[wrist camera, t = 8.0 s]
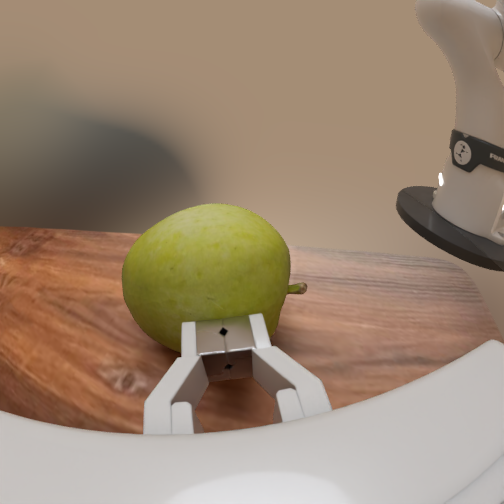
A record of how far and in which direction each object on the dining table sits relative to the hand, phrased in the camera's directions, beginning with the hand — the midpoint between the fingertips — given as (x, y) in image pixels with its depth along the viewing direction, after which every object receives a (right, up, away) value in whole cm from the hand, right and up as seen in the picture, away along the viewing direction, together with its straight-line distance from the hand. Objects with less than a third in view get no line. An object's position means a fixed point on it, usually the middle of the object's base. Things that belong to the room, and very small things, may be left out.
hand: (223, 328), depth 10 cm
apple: (-1, -2, +6) cm, 6 cm away
